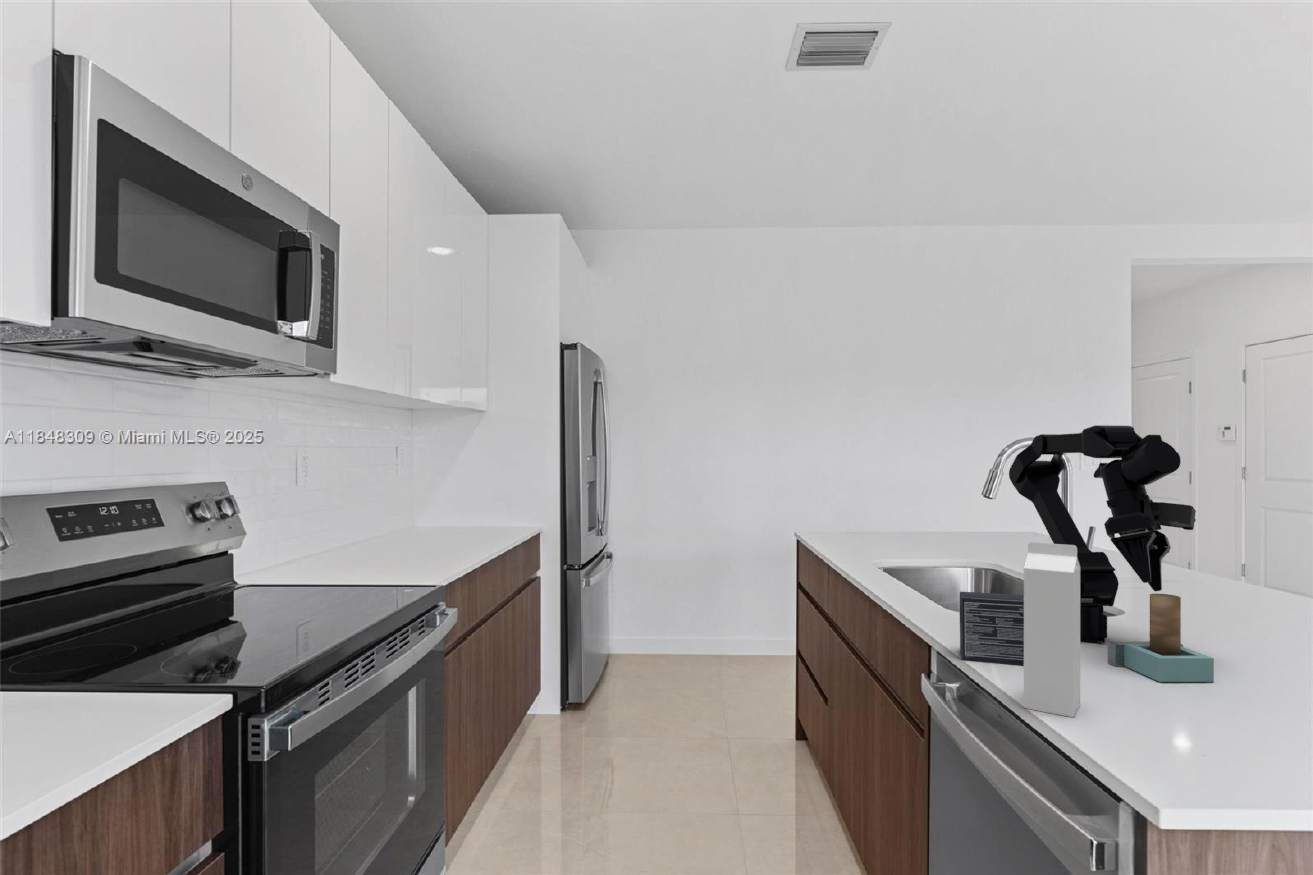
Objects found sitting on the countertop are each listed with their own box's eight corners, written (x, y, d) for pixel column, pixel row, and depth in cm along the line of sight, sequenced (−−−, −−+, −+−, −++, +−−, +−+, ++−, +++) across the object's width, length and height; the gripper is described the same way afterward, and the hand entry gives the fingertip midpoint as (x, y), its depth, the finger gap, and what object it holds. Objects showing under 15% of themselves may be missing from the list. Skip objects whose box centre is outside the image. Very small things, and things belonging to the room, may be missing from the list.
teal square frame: (1124, 665, 121) (1124, 643, 121) (1174, 665, 121) (1174, 643, 121) (1159, 682, 112) (1159, 658, 112) (1213, 681, 113) (1213, 658, 113)
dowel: (1151, 674, 116) (1151, 596, 116) (1147, 668, 120) (1148, 592, 120) (1182, 678, 114) (1182, 599, 115) (1178, 672, 118) (1178, 595, 118)
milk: (1032, 696, 106) (1031, 539, 106) (1081, 705, 102) (1080, 543, 103) (1023, 708, 101) (1022, 543, 101) (1074, 718, 97) (1073, 547, 98)
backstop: (1107, 663, 122) (1107, 641, 123) (1174, 663, 123) (1174, 641, 123) (1115, 666, 120) (1115, 644, 121) (1183, 666, 121) (1183, 644, 121)
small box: (1027, 656, 126) (1027, 593, 127) (1032, 667, 120) (1032, 601, 120) (959, 650, 130) (959, 589, 130) (961, 660, 124) (961, 596, 124)
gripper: (1173, 468, 116) (1204, 568, 110) (1191, 496, 129) (1220, 587, 123) (1093, 485, 122) (1118, 580, 116) (1118, 510, 136) (1142, 597, 129)
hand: (1152, 586), depth 121 cm, fingers open, 9 cm apart
